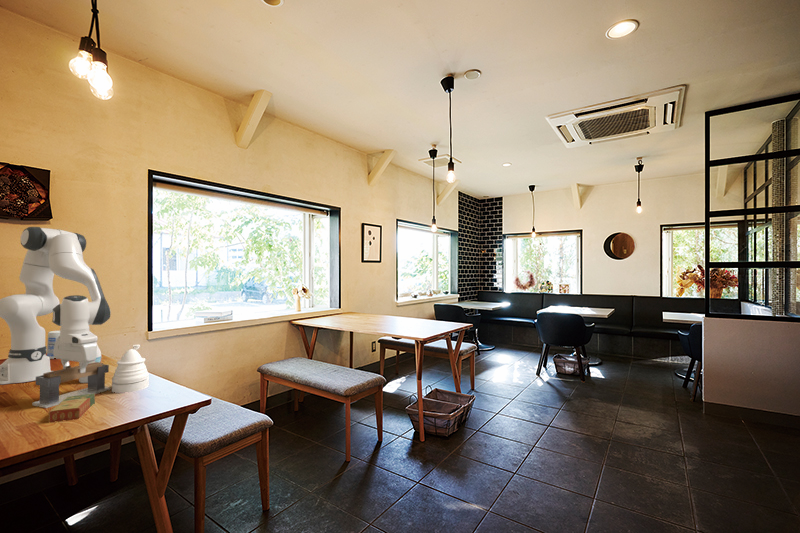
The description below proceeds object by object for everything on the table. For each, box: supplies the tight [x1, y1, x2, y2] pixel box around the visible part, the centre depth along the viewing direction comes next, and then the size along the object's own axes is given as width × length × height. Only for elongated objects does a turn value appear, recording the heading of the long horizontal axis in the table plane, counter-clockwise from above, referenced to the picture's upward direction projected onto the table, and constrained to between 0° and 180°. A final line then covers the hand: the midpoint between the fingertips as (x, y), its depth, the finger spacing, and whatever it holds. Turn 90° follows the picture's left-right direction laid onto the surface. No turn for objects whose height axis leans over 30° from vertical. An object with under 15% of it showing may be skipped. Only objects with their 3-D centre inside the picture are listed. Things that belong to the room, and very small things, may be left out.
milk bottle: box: [78, 341, 102, 384], centre depth 167 cm, size 8×8×20 cm
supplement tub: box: [46, 329, 60, 360], centre depth 208 cm, size 10×10×15 cm
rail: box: [43, 362, 104, 383], centre depth 146 cm, size 4×18×4 cm, turn 161°
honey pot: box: [111, 344, 150, 394], centre depth 158 cm, size 13×13×18 cm
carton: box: [48, 394, 96, 423], centre depth 131 cm, size 8×16×4 cm, turn 25°
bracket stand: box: [32, 363, 111, 409], centre depth 146 cm, size 8×22×10 cm, turn 161°
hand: (74, 371), depth 146 cm, fingers open, 8 cm apart
